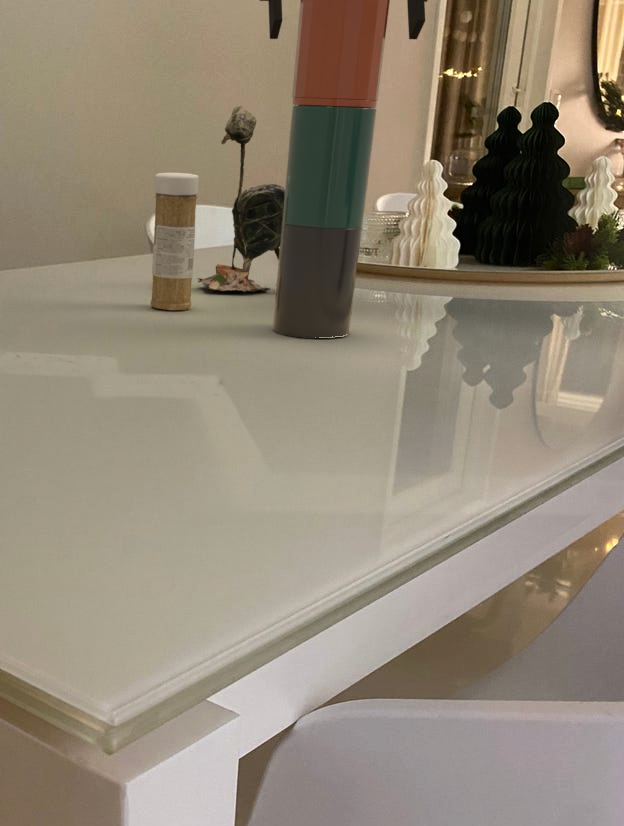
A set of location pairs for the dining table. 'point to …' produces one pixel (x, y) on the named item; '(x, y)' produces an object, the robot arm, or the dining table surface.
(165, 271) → the brown spice jar
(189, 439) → the dining table surface
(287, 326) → the cup stack
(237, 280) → the plant with pod
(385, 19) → the terracotta cup
